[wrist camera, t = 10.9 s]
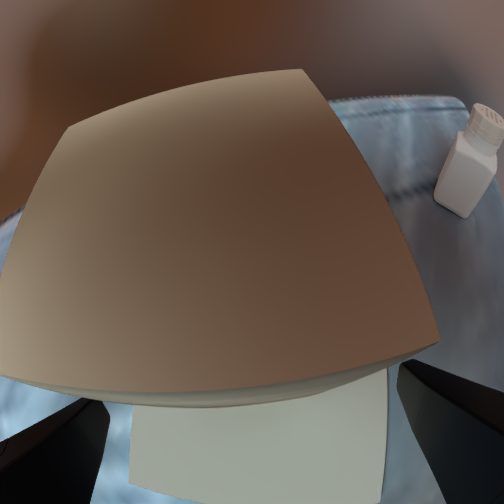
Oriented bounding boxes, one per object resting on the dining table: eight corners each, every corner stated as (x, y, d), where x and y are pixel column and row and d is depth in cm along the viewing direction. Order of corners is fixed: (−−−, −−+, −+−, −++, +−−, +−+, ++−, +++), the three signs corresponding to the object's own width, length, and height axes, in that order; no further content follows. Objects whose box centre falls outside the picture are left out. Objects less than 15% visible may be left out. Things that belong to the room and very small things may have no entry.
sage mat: (377, 500, 10) (379, 502, 9) (132, 481, 12) (128, 483, 11) (375, 276, 17) (377, 273, 17) (159, 276, 19) (156, 272, 19)
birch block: (308, 396, 14) (441, 341, 2) (219, 408, 14) (-16, 369, 2) (294, 315, 16) (301, 68, 4) (211, 326, 16) (68, 126, 5)
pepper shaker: (430, 201, 20) (468, 110, 12) (437, 176, 22) (469, 94, 14) (466, 223, 19) (515, 140, 11) (470, 196, 20) (510, 119, 12)
